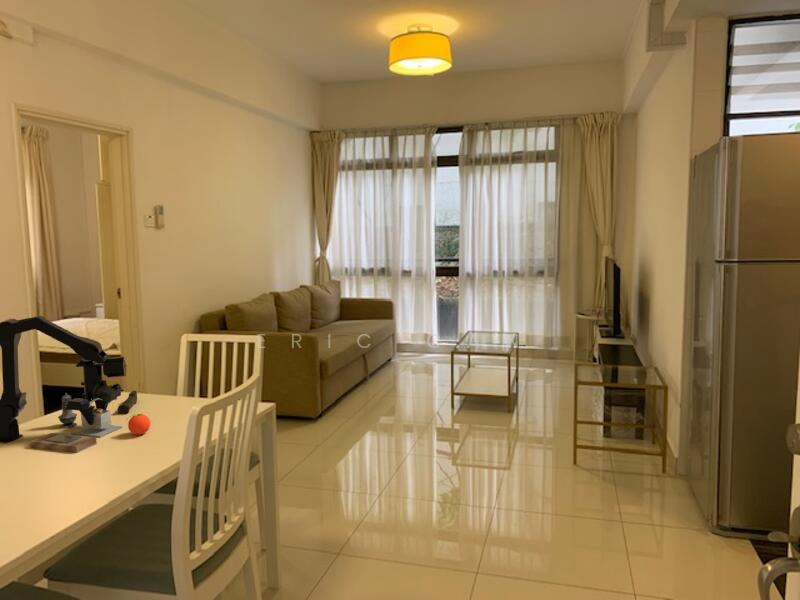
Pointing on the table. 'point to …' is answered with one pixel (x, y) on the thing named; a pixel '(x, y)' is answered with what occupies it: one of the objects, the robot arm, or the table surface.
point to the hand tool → (128, 403)
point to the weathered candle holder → (67, 414)
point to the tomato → (139, 424)
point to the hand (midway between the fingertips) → (96, 422)
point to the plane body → (63, 442)
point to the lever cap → (98, 419)
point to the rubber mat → (96, 431)
